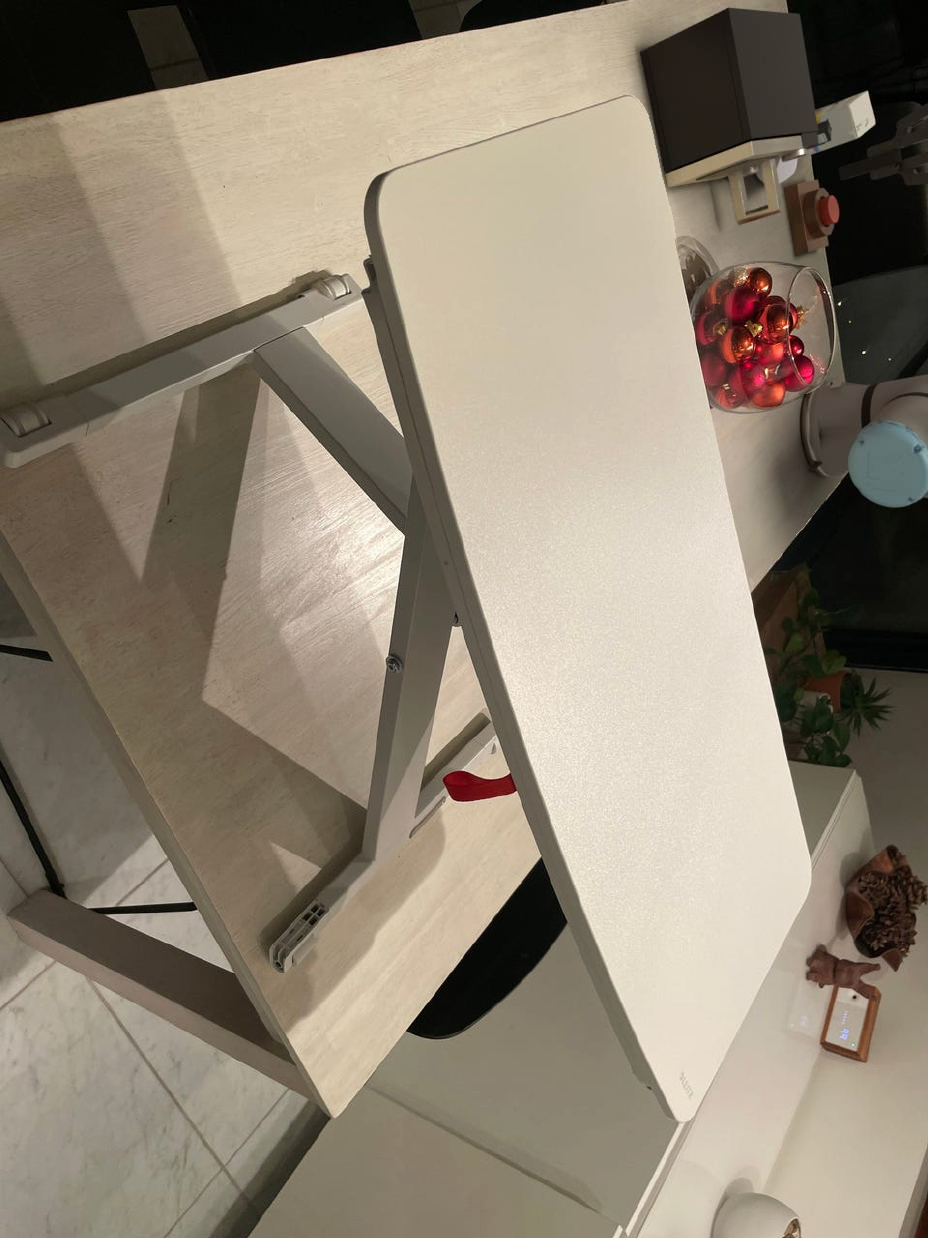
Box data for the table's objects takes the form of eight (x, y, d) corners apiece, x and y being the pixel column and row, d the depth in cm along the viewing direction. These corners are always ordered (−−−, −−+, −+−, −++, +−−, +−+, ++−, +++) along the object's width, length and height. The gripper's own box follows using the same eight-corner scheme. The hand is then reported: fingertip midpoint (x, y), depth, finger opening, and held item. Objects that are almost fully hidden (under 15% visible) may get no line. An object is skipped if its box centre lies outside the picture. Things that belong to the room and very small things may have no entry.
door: (730, 228, 131) (812, 202, 123) (678, 241, 122) (764, 214, 114) (718, 165, 129) (801, 134, 121) (664, 174, 119) (751, 140, 111)
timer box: (815, 249, 152) (840, 242, 149) (795, 255, 146) (820, 248, 144) (804, 183, 149) (829, 175, 146) (783, 188, 144) (808, 179, 141)
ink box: (791, 118, 146) (869, 87, 138) (800, 150, 148) (877, 122, 140) (770, 133, 141) (850, 102, 133) (779, 166, 143) (858, 138, 134)
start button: (829, 224, 147) (840, 221, 146) (819, 227, 144) (831, 223, 143) (825, 197, 146) (836, 193, 145) (815, 199, 143) (826, 196, 142)
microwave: (738, 179, 133) (821, 149, 125) (667, 192, 120) (755, 159, 112) (714, 53, 129) (799, 13, 121) (638, 51, 116) (728, 6, 107)
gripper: (1047, 35, 98) (823, 118, 115) (1058, 167, 102) (840, 230, 118) (1062, 36, 103) (846, 116, 120) (1073, 163, 107) (862, 223, 123)
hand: (843, 172), depth 119 cm, fingers closed
